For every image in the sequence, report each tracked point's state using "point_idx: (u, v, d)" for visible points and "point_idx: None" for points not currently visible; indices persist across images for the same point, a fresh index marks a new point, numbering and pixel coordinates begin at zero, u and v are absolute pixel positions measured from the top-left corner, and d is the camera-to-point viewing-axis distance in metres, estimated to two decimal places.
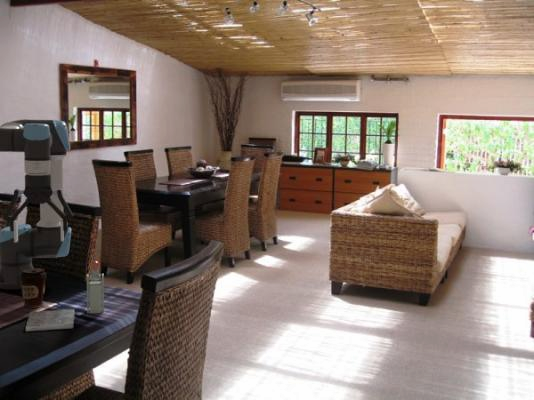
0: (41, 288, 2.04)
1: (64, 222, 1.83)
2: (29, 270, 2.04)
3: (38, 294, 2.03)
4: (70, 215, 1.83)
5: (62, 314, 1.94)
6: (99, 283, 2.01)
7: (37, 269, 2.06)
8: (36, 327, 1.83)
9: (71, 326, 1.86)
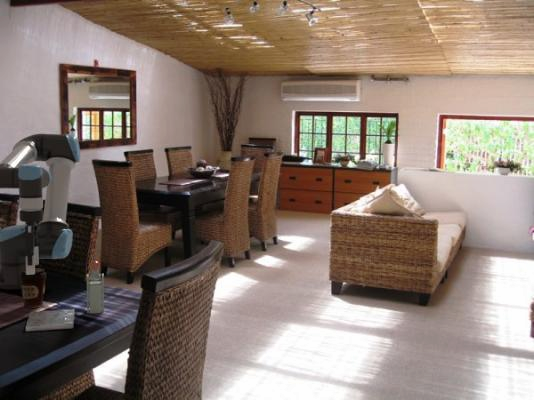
0: (41, 288, 2.04)
1: None
2: None
3: (38, 294, 2.03)
4: (25, 252, 1.93)
5: (62, 314, 1.94)
6: (99, 283, 2.01)
7: (37, 269, 2.06)
8: (36, 327, 1.83)
9: (71, 326, 1.86)
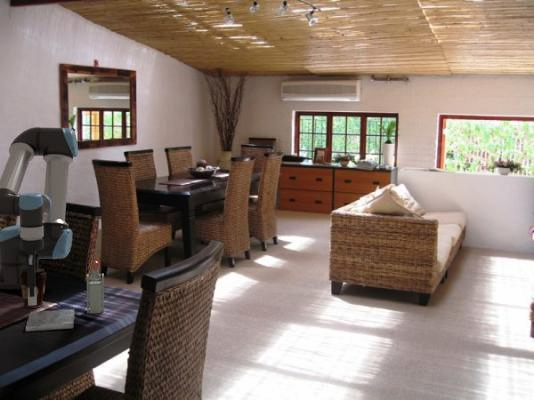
0: (41, 288, 2.04)
1: None
2: None
3: (38, 294, 2.03)
4: (27, 284, 1.98)
5: (62, 314, 1.94)
6: (99, 283, 2.01)
7: (37, 269, 2.06)
8: (36, 327, 1.83)
9: (71, 326, 1.86)
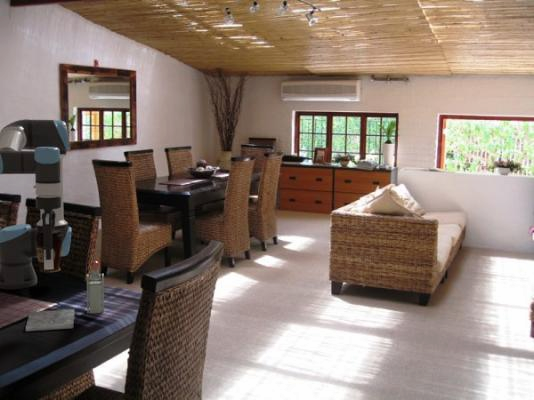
0: (58, 251, 1.86)
1: (46, 251, 1.82)
2: None
3: (55, 257, 1.86)
4: None
5: (62, 314, 1.94)
6: (99, 283, 2.01)
7: (53, 230, 1.88)
8: (36, 327, 1.83)
9: (71, 326, 1.86)
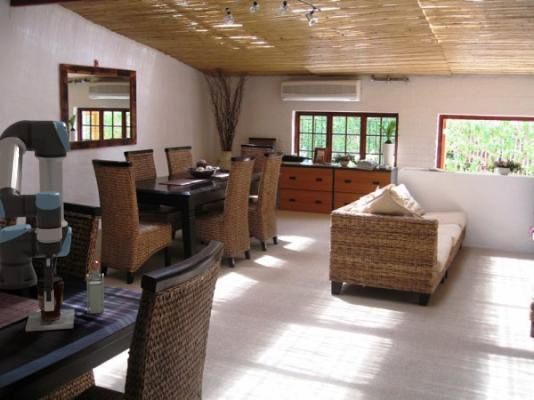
0: (59, 298, 1.88)
1: None
2: None
3: (56, 305, 1.88)
4: None
5: (62, 314, 1.94)
6: (99, 283, 2.01)
7: (54, 278, 1.90)
8: (36, 327, 1.83)
9: (71, 326, 1.86)
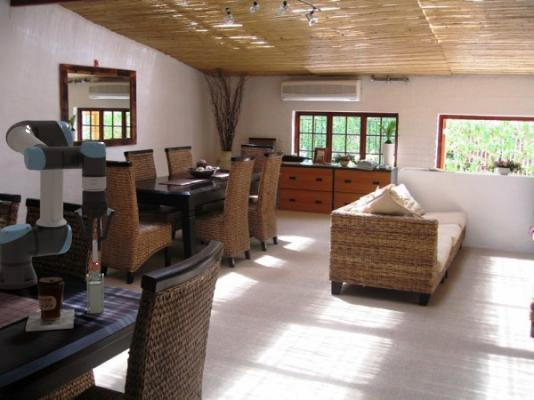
0: (59, 299, 1.88)
1: (98, 243, 1.90)
2: (46, 279, 1.89)
3: (56, 305, 1.88)
4: (105, 236, 1.90)
5: (62, 314, 1.94)
6: (99, 283, 2.01)
7: (55, 278, 1.90)
8: (36, 327, 1.83)
9: (71, 326, 1.86)
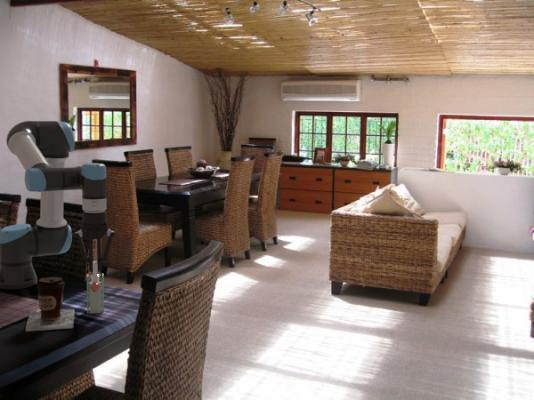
0: (59, 299, 1.88)
1: (98, 264, 1.91)
2: (46, 279, 1.89)
3: (56, 305, 1.88)
4: (105, 257, 1.91)
5: (62, 314, 1.94)
6: (99, 283, 2.01)
7: (55, 278, 1.90)
8: (36, 327, 1.83)
9: (71, 326, 1.86)
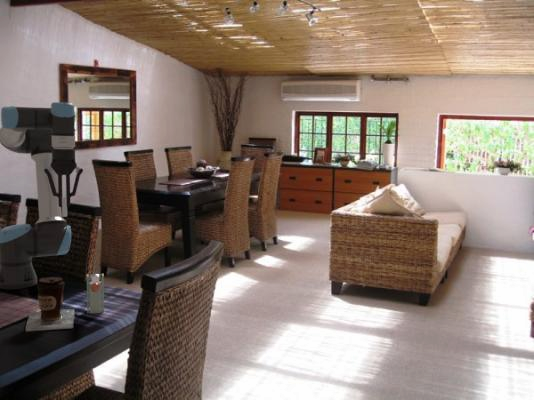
0: (59, 299, 1.88)
1: (67, 199, 2.01)
2: (46, 279, 1.89)
3: (56, 305, 1.88)
4: (74, 193, 2.01)
5: (62, 314, 1.94)
6: (99, 283, 2.01)
7: (55, 278, 1.90)
8: (36, 327, 1.83)
9: (71, 326, 1.86)
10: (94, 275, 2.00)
